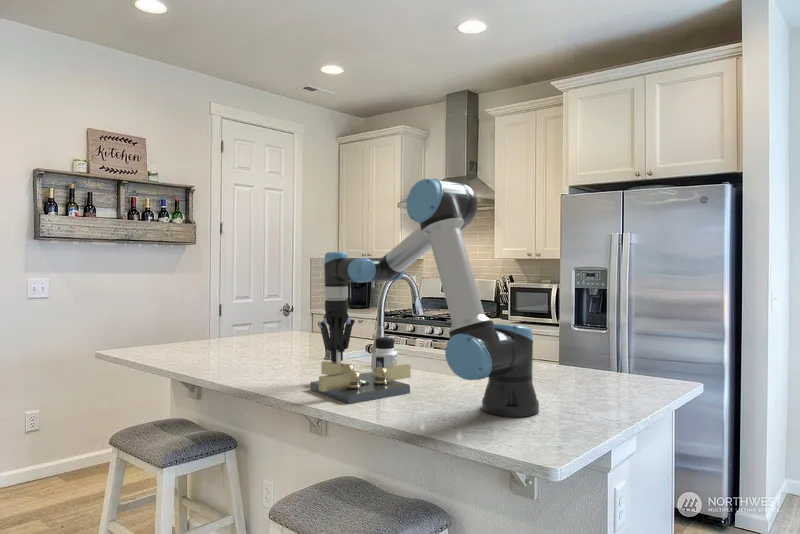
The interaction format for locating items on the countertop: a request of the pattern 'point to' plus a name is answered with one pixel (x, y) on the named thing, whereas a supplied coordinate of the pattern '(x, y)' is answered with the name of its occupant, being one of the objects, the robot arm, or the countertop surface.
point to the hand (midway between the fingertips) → (336, 371)
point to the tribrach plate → (364, 390)
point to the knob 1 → (339, 381)
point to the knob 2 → (391, 373)
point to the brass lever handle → (335, 368)
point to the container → (384, 353)
